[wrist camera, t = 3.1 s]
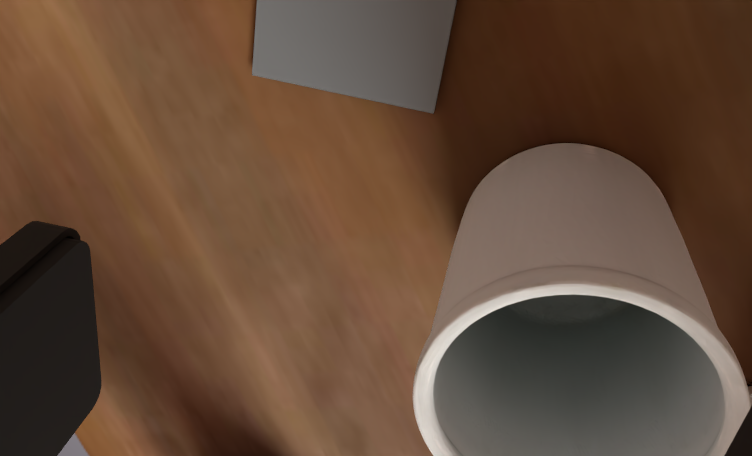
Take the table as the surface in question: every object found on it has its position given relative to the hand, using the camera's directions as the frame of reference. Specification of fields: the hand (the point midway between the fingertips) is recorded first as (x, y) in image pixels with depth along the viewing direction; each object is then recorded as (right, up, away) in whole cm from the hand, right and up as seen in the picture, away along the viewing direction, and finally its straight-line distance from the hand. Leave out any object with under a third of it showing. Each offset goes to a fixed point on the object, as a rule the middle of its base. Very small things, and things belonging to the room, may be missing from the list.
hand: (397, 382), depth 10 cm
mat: (-1, +16, +33) cm, 36 cm away
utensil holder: (+12, +1, +38) cm, 39 cm away
